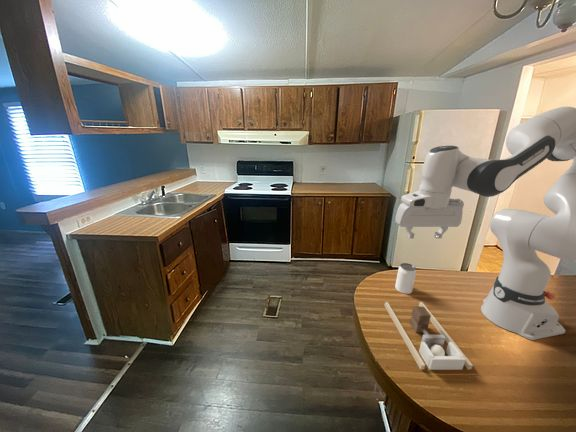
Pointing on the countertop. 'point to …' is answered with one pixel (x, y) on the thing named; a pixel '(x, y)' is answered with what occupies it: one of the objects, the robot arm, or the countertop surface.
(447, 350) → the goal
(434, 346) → the ball
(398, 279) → the can
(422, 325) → the block
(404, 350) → the countertop surface
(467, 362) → the pitch
